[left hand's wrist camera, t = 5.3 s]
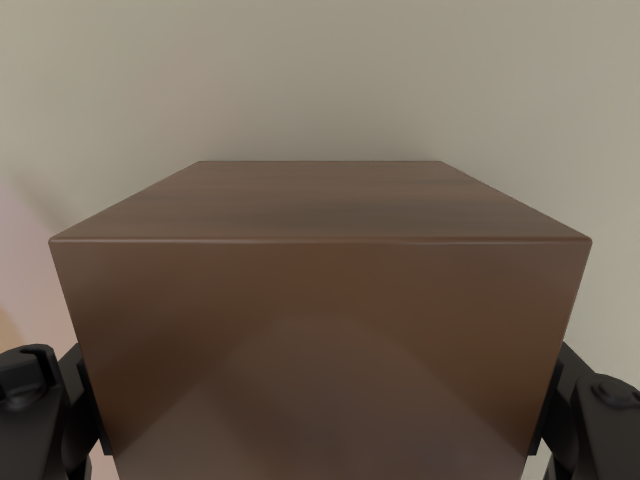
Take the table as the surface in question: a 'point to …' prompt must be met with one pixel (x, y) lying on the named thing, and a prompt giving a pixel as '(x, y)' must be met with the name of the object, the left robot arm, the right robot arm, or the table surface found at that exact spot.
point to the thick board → (320, 321)
